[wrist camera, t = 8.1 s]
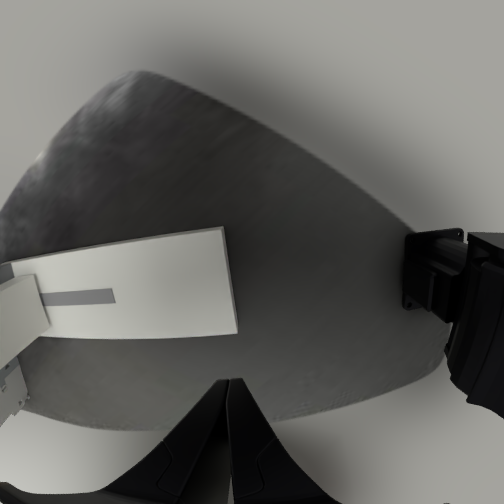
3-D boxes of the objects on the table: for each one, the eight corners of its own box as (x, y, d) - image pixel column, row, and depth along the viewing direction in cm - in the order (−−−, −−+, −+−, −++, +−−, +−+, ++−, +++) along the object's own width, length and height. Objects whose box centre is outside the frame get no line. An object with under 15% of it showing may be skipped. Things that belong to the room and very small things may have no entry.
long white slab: (223, 226, 19) (210, 244, 13) (238, 323, 21) (233, 373, 15) (5, 262, 20) (-35, 279, 14) (26, 328, 22) (-8, 354, 16)
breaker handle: (33, 273, 18) (-37, 311, 10) (51, 328, 19) (-7, 378, 11) (14, 276, 18) (-50, 310, 10) (31, 327, 19) (-24, 371, 11)
